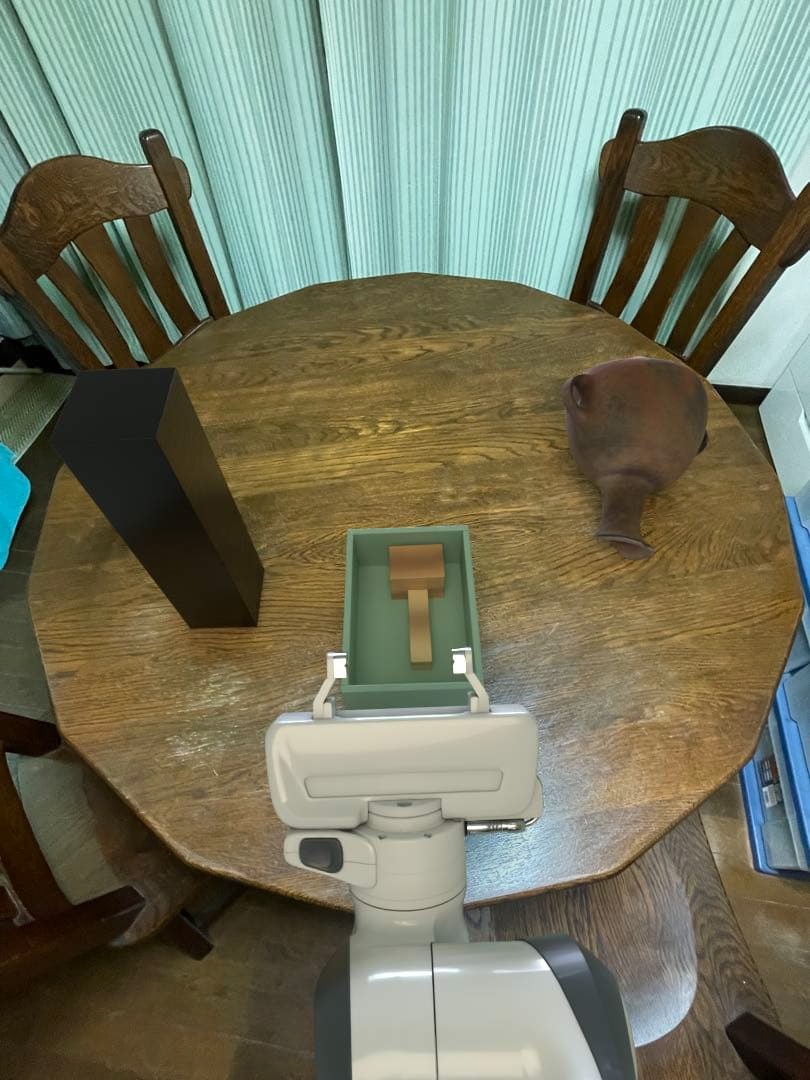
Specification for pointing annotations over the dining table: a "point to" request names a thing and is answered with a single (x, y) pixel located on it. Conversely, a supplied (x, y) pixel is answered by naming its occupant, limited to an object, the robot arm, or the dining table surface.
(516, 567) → the dining table surface
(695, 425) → the jug
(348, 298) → the dining table surface
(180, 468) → the stand
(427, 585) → the mallet
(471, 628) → the tray
